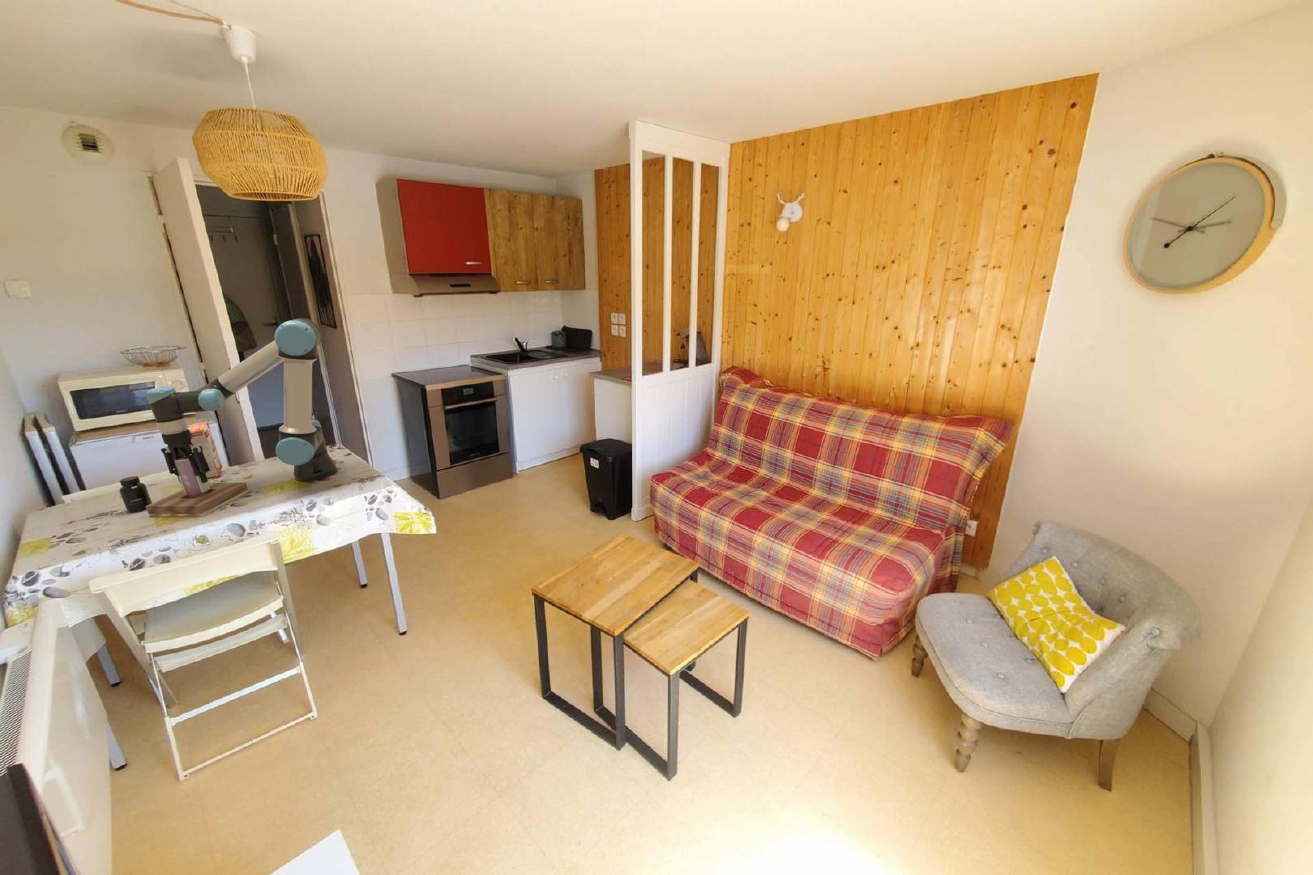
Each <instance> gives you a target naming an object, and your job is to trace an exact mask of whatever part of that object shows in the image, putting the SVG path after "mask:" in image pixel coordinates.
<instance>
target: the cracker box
mask: <svg viewBox="0 0 1313 875" xmlns="http://www.w3.org/2000/svg"><path fill="white" fill-rule="evenodd" d="M188 429H189V430H190V432H191V435H192V439H191V442H192V444H193V445H194V446H197V447H198V446H202V450H203V454H204V456H205V459H206V461H207V463H208V466H209V468H210V471H209V472H206V476H207V479H211V478H217V477H220V476H221V472H222V469H223V464H222V462H221V458H220V455H219V452H218V449H217V446H216V443H215V440H214V437H213V433H212V430H211V428H210V424H209V422H200V423H194V424H190V426H189V427H188Z"/></svg>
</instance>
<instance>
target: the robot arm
mask: <svg viewBox="0 0 1313 875" xmlns="http://www.w3.org/2000/svg"><path fill="white" fill-rule="evenodd" d="M322 338H323V333H322V330H321V327H320V326H319V325H318V324H317V323H316V322H315V321H313V320H311V319H308V318H303V317H299V318H295V319H291V320H287V321H285V322H283V323H281V324H280V325H279V326H278V327H277V328H276V330H275V332H274V340H272V341H271V342H269V343H268V344H266V345H265V346H263V347H262V348H260V349H259V350H258V351H256V352H255V353H253V354H251V355H249V356H248V357H247V358H245V359H243V360H242V361H240V362H239V363H237V364H236V365H235V366H233V367H231V368H230V369H229V370H227V371H226V372H224V373H222V374H221V375H220V376H218V377H217V378H215V379H213V380H212V381H210V382H209V383H207V384H206V385H204V386H202V387H199V388H198V389H195V390H189V391H177V390H176V389H175V388H174V387H173V386H162V387H156V388H151V389H149V390H147V391H146V392H145V393H146V394H145V395H146V399H147V402H148V405H149V408H150V410H151V411H152V415H153V417H154V419H155V423H156V426H157V429H158V431H159V433H160V434H161V435H160V436H161V439H162V441H163V443H164V444H165V445H167V446H166V447H163V448H160V451H161V453H162V454H163V456H164V460H165V462H166V466H167V468H168V472H169V474H170V475H173V474H174V475H175V476H177V480H178V482H179V483H180V484H181V487H182V490H184V492H186V491H185V488H184V485H183V483H182V480H181V478H180V475H179V472H178V470H177V467H176V465H175V459H176V460H177V459H179V458H181V457H184V458H185V459H188V460H189V461H190V463H191V466H192V468H193V469H194V471H195V472H196V473H197V475H195V476H196V479H197V482H198V484H199V487H200V490H201V492H205V491H207V490H209V489H210V488H209V485H208V483H209V480H208V479H209V478H207V476H206V472H209V471H210V468H209V466H208V463H207V461H206V459H205V456H204V454H203V450H202V446H198V447H197V446H194V445H193V444H192V442H191V439H192V435H191V432H190V430H189V425H188V422H187V420H186V416H185V414H190V413H200V412H213V411H217V410H221V409H223V408H224V406H225V403H226V402H225V401H226V400H228V399H229V398H231V397H232V396H234V395H235V394H236V393H238V392H239V391H241V390H243V389H244V388H245V387H247V386H248V385H249V384H251V383H253V382H254V381H256V380H257V379H259V378H260V377H263V375H265V374H266V373H268V372H269V371H271V370H272V369H275V368H276V367H277V366H279V365H280V364H282V363H283V424H282V425H281V426H280V427H278V442H277V443H276V445H275V455H276V457H277V458H278V460H280V461H281V462H283V463H284V464H286V465H289V466H293V477H294V480H295V481H299V482H308V481H309V482H310V481H316V480H321V479H325V478H327V477H329V476H332V475H334V474H335V473H337V472H338V466H337V463H336V462H334V461H333V459H332V457H331V455H330V454H329V452H328V448H327V444H326V441H325V440H326V439H325V437H324V434H323V429H322V426H321V423H320V421H319V420H317V419H312V418H313V417H312V415H313V413H312V411H313V410H312V409H313V408H312V407H313V406H312V405H313V363H315V361H317V360H318V346H319V345H320V343H321V342H322ZM188 455H190V456H188Z"/></svg>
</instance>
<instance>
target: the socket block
mask: <svg viewBox="0 0 1313 875" xmlns="http://www.w3.org/2000/svg"><path fill="white" fill-rule="evenodd" d="M208 485H209V488H210V489H209V492H208V494H206V495H204V496H202V497H199V498H189V497H188V496H187V493H186V492H184V490H183V489H180V490H179V491H176V492H175V493H172V494H170V495H168V496H165V497H163V498H161V499H159V500H156V501H154V502H152V504H150V505H147V506H145V507H146V511H147V514H148V516H149V517H151V518H152V517H163V518H164V517H179V518H180V517H185V518H186V517H192V518H193V517H198V518H199V517H204V516H207V515H208V514H210V513H212V512H214V511H216V510H218V509H220V508H221V507H224V506H225V505H228V504H230V503H231V502H233V501H235V500H237V499H239V498H241V497H243V496H244V495H246V494H248V493H250V490H249V487H248V484H247V482H245V481H244V482H242V481H241V482H208Z"/></svg>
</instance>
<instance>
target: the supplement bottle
mask: <svg viewBox="0 0 1313 875" xmlns="http://www.w3.org/2000/svg"><path fill="white" fill-rule="evenodd" d="M119 483H120V486H121V487H119V494H120V497H121V499H122V502H123V504H124V507H125V509H126V511H127V512H129V513H138V512H142V511H145V510H146V511H147V509H146V507H145V506H147V505H150V504H152V503H153V502H152V499H151V496H150V493H149V490H148V489H147V486H146V484H145V483H143V482H141V480H140V477H139V476H137V475H136V476H134V475H133V476H128V477H124V478H121V479H120V480H119Z"/></svg>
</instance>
